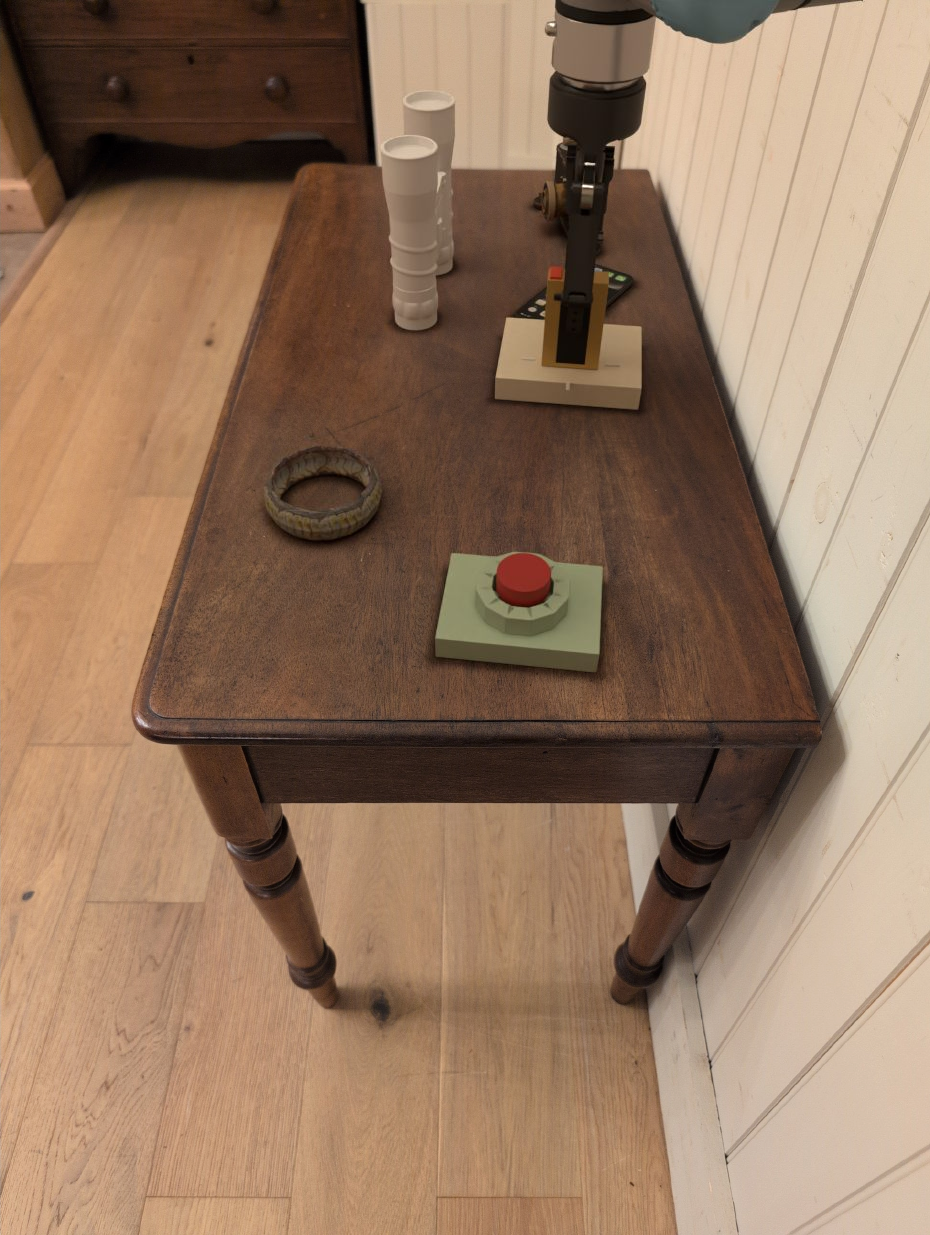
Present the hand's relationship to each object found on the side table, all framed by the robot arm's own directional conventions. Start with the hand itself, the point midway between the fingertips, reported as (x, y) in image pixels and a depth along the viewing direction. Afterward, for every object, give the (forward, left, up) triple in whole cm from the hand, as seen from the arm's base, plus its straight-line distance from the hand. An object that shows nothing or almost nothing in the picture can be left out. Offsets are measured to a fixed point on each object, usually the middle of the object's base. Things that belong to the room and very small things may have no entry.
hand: (572, 335), depth 88 cm
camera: (+2, -34, -6) cm, 35 cm away
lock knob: (0, 0, -3) cm, 3 cm away
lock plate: (0, -2, -6) cm, 6 cm away
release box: (+2, +32, -6) cm, 33 cm away
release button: (+2, +32, -2) cm, 32 cm away
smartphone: (0, -16, -6) cm, 17 cm away
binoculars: (+17, -16, -6) cm, 24 cm away
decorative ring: (+20, +21, -6) cm, 30 cm away
